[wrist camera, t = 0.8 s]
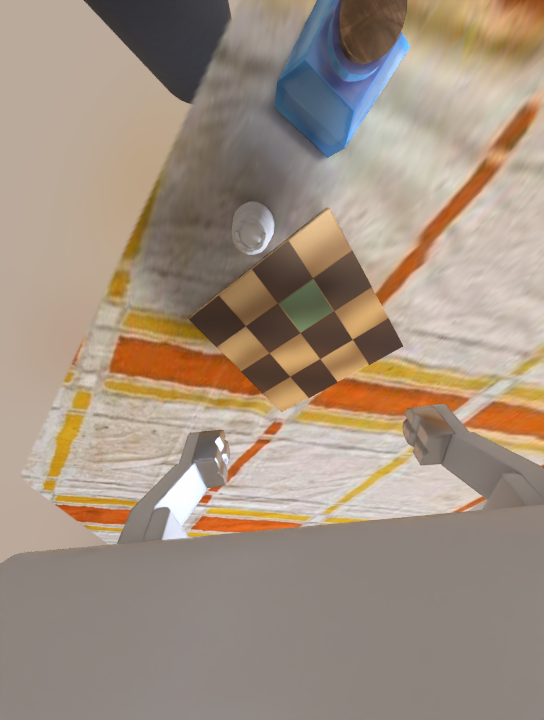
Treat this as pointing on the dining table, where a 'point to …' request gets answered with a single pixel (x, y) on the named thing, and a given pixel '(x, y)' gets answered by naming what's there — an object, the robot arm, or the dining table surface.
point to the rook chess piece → (252, 227)
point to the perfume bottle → (340, 68)
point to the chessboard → (300, 316)
